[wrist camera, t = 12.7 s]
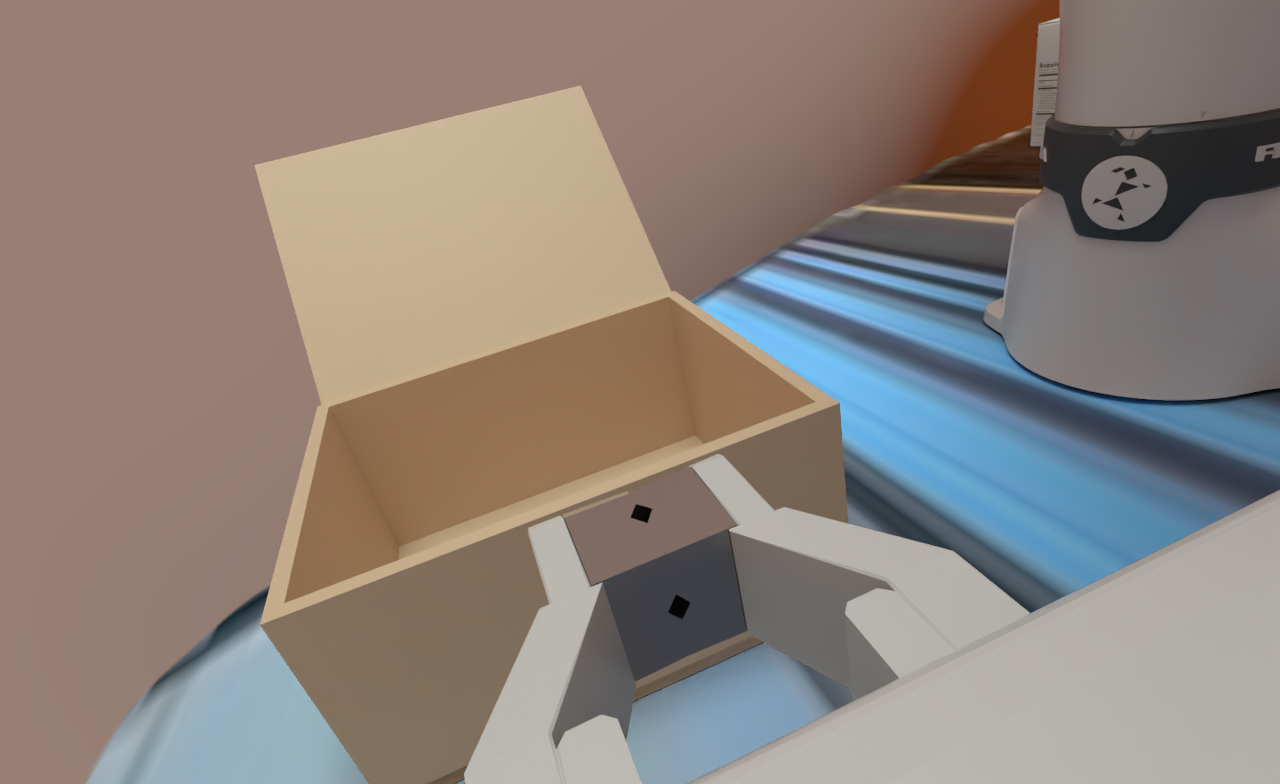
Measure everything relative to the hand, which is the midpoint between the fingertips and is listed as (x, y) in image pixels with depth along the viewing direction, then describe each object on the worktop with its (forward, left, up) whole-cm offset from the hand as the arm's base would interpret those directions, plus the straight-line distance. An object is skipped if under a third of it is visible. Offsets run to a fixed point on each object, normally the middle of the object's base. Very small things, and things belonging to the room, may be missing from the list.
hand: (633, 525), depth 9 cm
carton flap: (-10, -30, -1) cm, 31 cm away
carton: (-6, -17, -17) cm, 24 cm away
